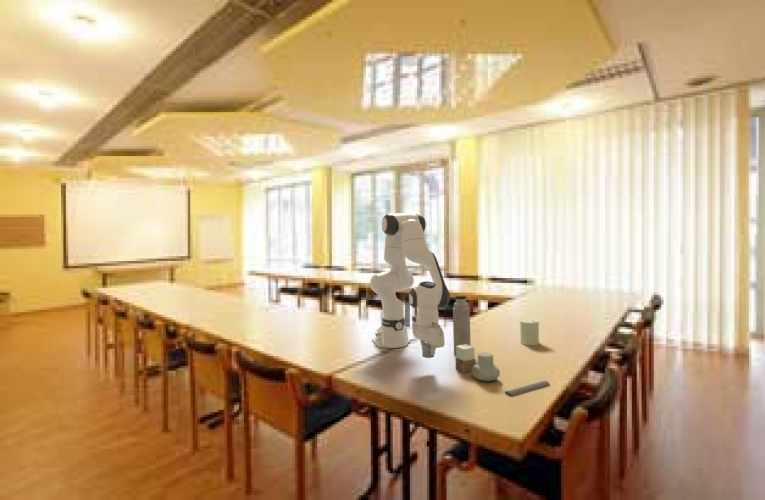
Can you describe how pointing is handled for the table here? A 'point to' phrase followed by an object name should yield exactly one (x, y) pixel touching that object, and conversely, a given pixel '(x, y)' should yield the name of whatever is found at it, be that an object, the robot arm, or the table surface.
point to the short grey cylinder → (426, 350)
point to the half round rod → (528, 388)
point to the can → (529, 331)
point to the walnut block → (465, 365)
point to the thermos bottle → (461, 322)
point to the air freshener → (485, 368)
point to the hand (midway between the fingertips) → (428, 352)
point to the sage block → (465, 352)
